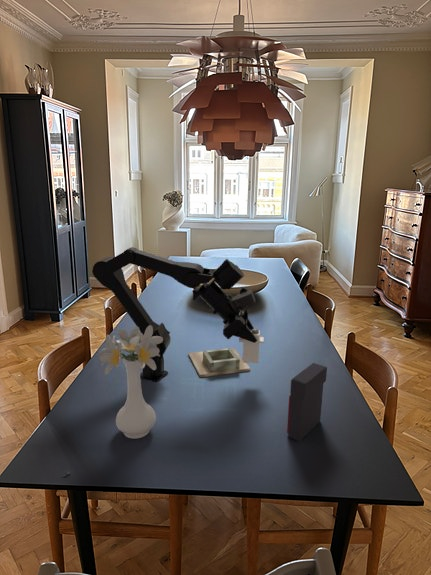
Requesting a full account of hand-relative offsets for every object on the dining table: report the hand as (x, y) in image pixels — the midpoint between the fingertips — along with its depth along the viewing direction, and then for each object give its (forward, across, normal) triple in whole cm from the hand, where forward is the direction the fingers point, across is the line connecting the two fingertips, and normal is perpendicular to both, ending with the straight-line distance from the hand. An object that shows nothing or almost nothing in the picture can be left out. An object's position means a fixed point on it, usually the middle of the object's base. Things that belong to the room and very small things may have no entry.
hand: (256, 338), depth 118 cm
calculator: (+18, -22, +1) cm, 29 cm away
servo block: (+4, 0, +6) cm, 7 cm away
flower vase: (-10, -27, +29) cm, 41 cm away
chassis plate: (+1, +11, +18) cm, 21 cm away
